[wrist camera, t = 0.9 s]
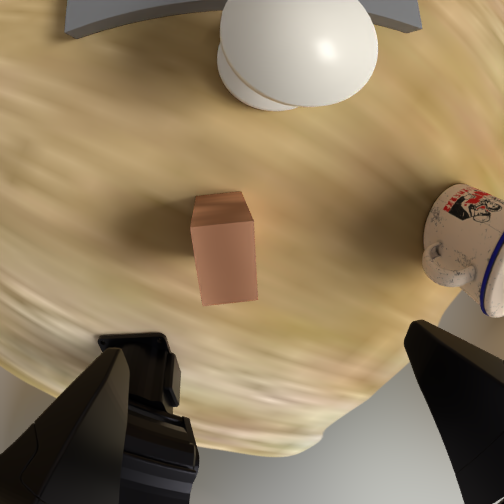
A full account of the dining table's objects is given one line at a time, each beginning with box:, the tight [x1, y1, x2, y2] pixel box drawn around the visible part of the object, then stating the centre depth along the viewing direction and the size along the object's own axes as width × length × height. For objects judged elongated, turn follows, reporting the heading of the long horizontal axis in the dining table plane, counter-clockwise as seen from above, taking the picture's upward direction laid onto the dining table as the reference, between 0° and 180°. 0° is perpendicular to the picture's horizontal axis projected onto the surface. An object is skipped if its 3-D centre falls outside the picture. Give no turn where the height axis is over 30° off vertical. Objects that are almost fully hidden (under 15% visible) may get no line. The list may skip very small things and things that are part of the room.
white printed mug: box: [422, 184, 504, 317], centre depth 17 cm, size 12×9×12 cm
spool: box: [217, 0, 378, 111], centre depth 12 cm, size 7×7×7 cm
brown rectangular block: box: [190, 192, 258, 306], centre depth 17 cm, size 3×4×6 cm, turn 3°
